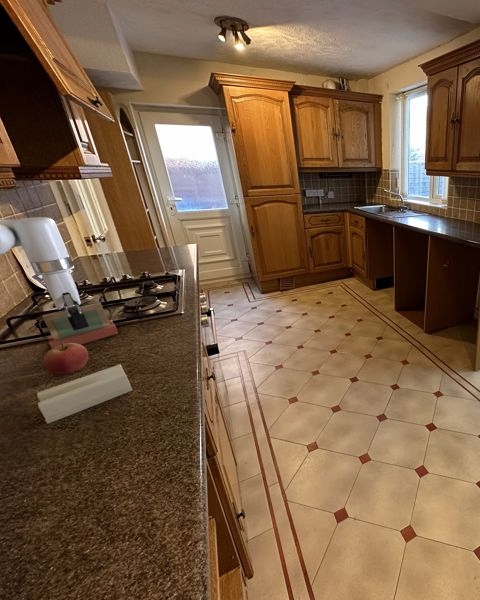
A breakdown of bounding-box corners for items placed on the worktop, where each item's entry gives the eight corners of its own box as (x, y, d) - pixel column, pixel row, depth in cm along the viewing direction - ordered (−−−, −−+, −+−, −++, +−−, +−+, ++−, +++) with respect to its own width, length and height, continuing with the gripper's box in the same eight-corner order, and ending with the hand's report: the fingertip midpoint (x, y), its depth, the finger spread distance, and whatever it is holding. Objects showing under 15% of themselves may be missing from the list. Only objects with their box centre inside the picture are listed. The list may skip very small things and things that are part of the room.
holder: (45, 406, 70) (36, 391, 68) (125, 376, 80) (119, 362, 78) (47, 424, 65) (38, 408, 64) (132, 390, 75) (126, 376, 73)
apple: (100, 359, 87) (89, 333, 84) (82, 376, 80) (69, 349, 77) (64, 364, 85) (51, 337, 82) (42, 382, 78) (27, 354, 75)
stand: (53, 347, 93) (47, 335, 91) (115, 330, 102) (110, 318, 101) (55, 357, 88) (49, 345, 86) (120, 338, 97) (115, 326, 96)
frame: (58, 347, 91) (42, 315, 87) (112, 331, 99) (100, 302, 95) (58, 349, 90) (42, 317, 86) (113, 333, 98) (100, 303, 94)
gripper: (31, 262, 88) (58, 319, 95) (33, 275, 78) (64, 338, 85) (68, 256, 94) (92, 311, 100) (75, 268, 83) (101, 328, 90)
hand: (79, 323), depth 92 cm, fingers open, 8 cm apart
